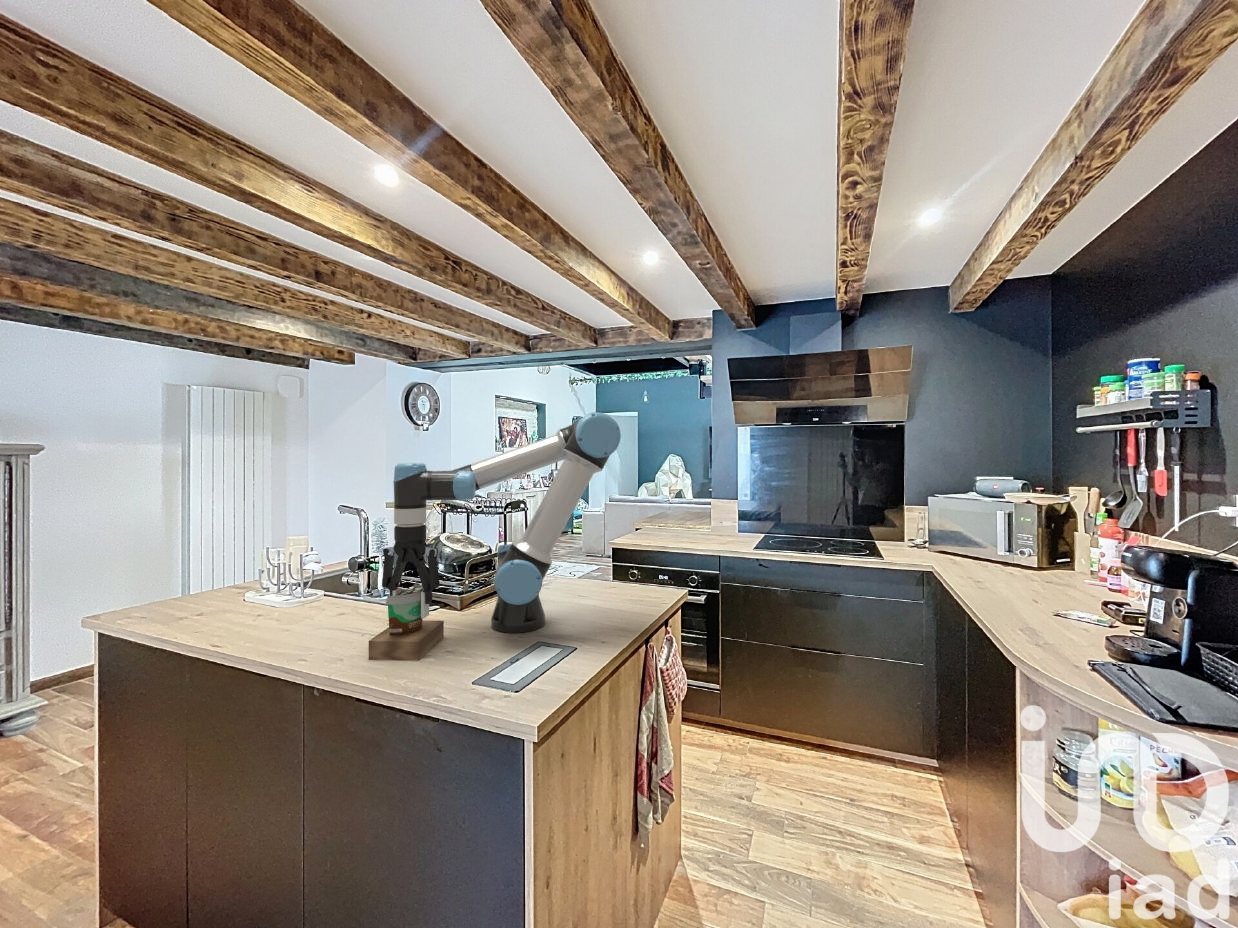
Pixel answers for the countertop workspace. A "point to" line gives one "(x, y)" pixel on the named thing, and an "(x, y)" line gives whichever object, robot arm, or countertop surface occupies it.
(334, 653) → the countertop surface
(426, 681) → the countertop surface
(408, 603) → the food container
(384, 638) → the walnut box
